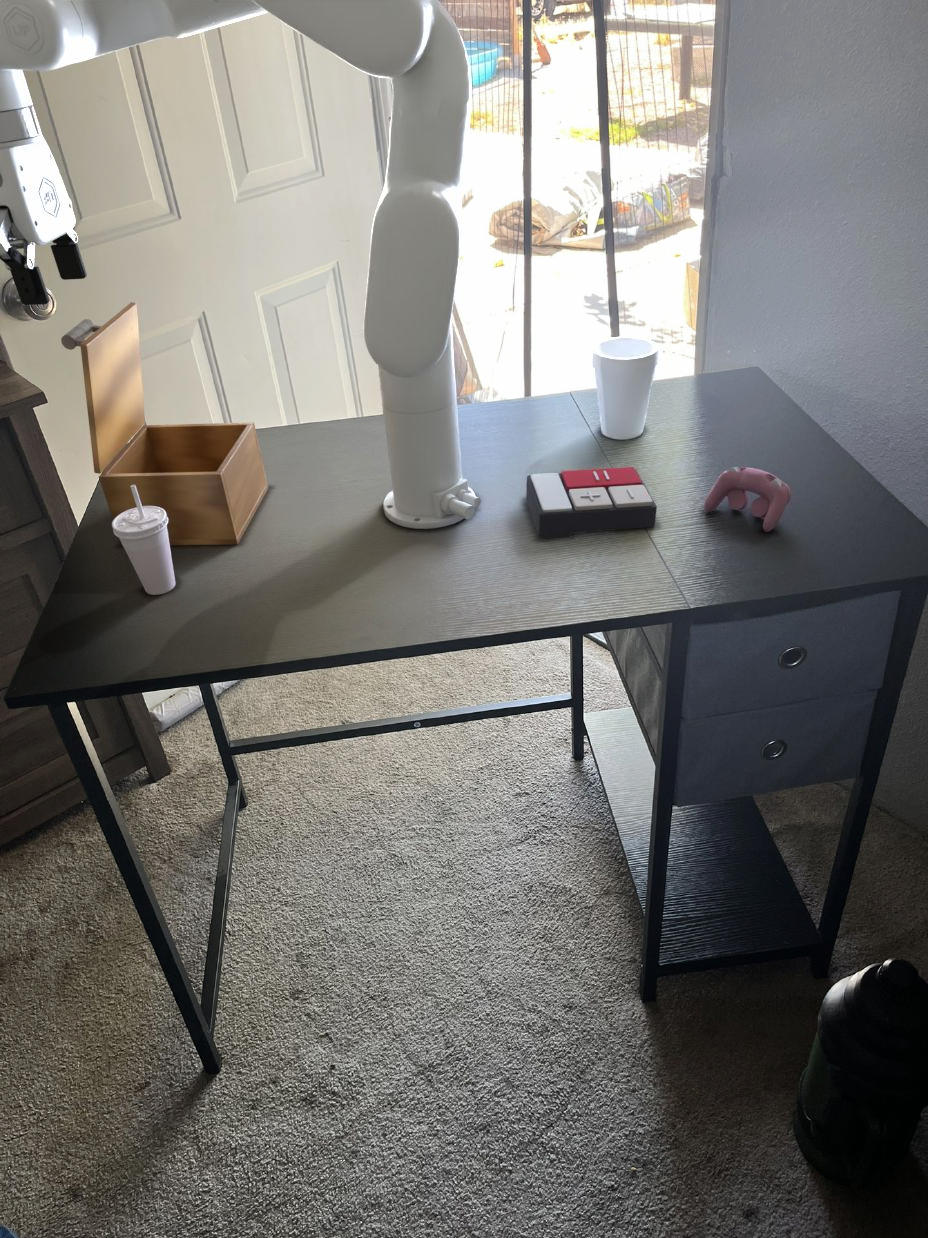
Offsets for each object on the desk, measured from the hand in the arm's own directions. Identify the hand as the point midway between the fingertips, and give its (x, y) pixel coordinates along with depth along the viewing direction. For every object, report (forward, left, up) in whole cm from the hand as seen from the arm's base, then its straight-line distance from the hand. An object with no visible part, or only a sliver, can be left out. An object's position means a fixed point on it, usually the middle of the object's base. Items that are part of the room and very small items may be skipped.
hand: (56, 290), depth 109 cm
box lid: (-1, -4, -13) cm, 13 cm away
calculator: (-47, -41, -32) cm, 71 cm away
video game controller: (-63, -53, -32) cm, 89 cm away
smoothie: (-17, +6, -32) cm, 37 cm away
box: (-5, -7, -32) cm, 33 cm away
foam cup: (-35, -64, -32) cm, 80 cm away
